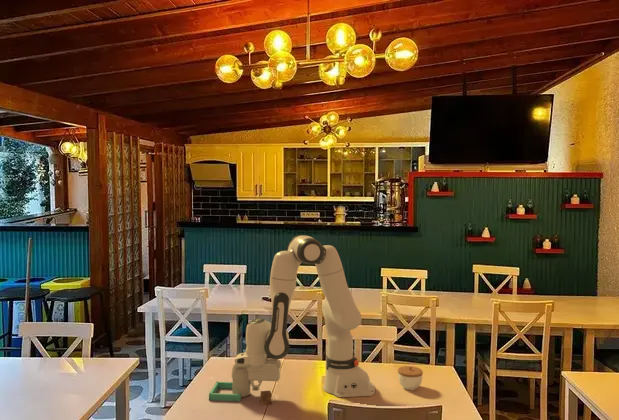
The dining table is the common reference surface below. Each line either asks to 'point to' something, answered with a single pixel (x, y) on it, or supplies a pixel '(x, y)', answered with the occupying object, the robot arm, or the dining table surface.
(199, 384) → the dining table surface
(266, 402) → the walnut block
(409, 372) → the lidded jar
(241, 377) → the can
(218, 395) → the corral
